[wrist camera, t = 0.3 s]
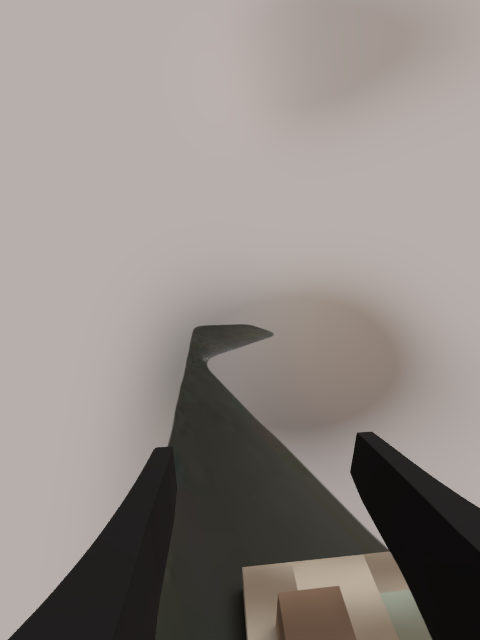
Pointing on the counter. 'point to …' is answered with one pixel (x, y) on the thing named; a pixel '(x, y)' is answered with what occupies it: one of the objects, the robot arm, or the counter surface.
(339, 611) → the walnut block
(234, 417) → the counter surface
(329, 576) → the trap deck
